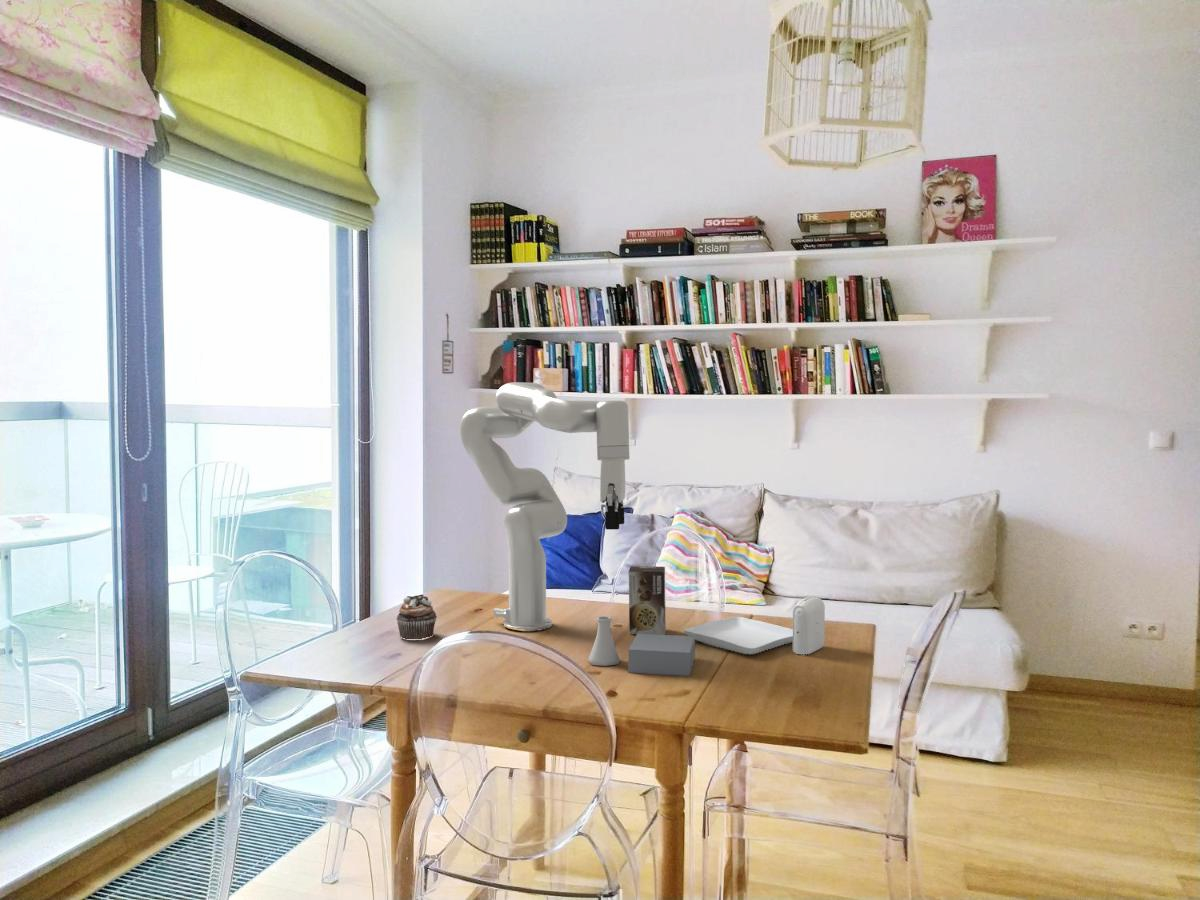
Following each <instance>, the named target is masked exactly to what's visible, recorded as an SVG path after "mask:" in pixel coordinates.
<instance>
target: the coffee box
mask: <svg viewBox="0 0 1200 900" xmlns="http://www.w3.org/2000/svg"><path fill="white" fill-rule="evenodd" d="M666 624H667V623H666V566H647V565H646V566H645V565H644V566H638V565H637V566H632V565H631V566H630V567H629V570H628V635H629V634H656V635H666V630H667V629H666V628H667V627H666Z"/></svg>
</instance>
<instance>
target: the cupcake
mask: <svg viewBox="0 0 1200 900" xmlns="http://www.w3.org/2000/svg"><path fill="white" fill-rule="evenodd" d="M398 612H399V613H398V614H397V617H396V623H397V627H398V631H399V637H400V638H401V637H402V638H405V639H422V638H426V637H430V636H432V635H433V636H434V632H435V631H434V630H435V625H436V622H437V613H436V611H435V610H434V609H433V605H432V600H431V599H429V597H427V596H424V594H419V595H414V596H410V595H409V596H408V595H407V596H406V597H403V604H402V605H401V606H400V608H399V609H398Z"/></svg>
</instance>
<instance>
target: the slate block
mask: <svg viewBox="0 0 1200 900" xmlns="http://www.w3.org/2000/svg"><path fill="white" fill-rule="evenodd" d="M695 642H696V641H695V636H688V635H677V634H675V635H674V634H671V635H670V634H665V635H656V634H637V635H636V636H634V639H633V641H632V642H631V644H630V646H629V647H628V662H627V663H628V665H627V666H628V673H633V674H648V675H665V676H683V677H684V676H685V677H690V675H691V671H692V668H693V665H694V662H693V661H695V645H696V644H695Z"/></svg>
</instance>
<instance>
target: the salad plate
mask: <svg viewBox="0 0 1200 900" xmlns="http://www.w3.org/2000/svg"><path fill="white" fill-rule="evenodd" d="M683 632H684V634H685V635H686V636H695V640H696V641H697V642H701V643H702V642H703V644H704V643H706V644H705V645H707V644H709V645H708V646H711V645H713V646H712V647H714V646H717V647H716V648H718V647H720V648H719V649H722V648H724V649H723V650H726V649H727V651H729V650H731V651H730V652H733V651H735V652H734V653H737V652H739V653H738V654H741V653H742V655H747V654H748V655H749V656H751V655H756V653H757V654H760V653H763V652H766V651H765V650H767V651H769V650H768V649H770V650H773V649H775V647H776V648H779V647H781V645H782V646H784V644H785V645H787V644H788V645H789V644H790V643H793V628H789V627H786V626H781V625H779V624H778V625H777V624H773V623H769V622H765V621H761V620H756V619H751V618H747V617H744V616H743V617H742V616H736V615H735V616H732V617H727V618H723V619H719V620H718V619H717V620H713V621H709V622H705V623H701V624H698V625H694V626H690V627H687V628H683ZM778 646H779V647H778ZM772 648H773V649H772ZM762 651H763V652H762ZM759 652H760V653H759ZM748 655H747V656H748Z"/></svg>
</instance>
